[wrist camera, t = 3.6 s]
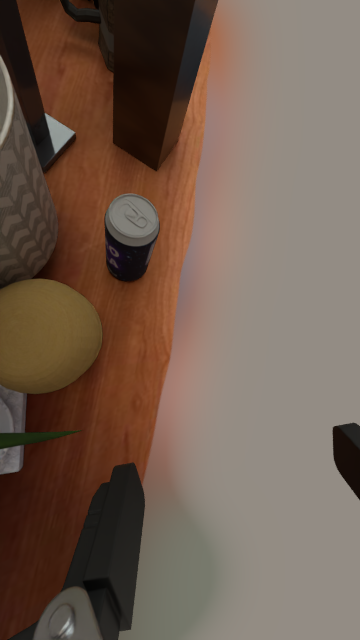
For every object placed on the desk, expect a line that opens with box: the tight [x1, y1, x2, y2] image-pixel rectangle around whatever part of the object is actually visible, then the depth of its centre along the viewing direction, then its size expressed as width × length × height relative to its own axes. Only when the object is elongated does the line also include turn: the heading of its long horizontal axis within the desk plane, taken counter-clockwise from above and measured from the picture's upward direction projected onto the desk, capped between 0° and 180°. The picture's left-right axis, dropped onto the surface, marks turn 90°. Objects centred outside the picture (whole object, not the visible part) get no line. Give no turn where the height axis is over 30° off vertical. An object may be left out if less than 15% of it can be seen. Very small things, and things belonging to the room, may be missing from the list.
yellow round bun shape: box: [0, 279, 103, 394], centre depth 26 cm, size 12×12×10 cm
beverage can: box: [105, 194, 160, 281], centre depth 30 cm, size 6×6×12 cm
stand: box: [113, 0, 218, 171], centre depth 31 cm, size 8×8×22 cm
